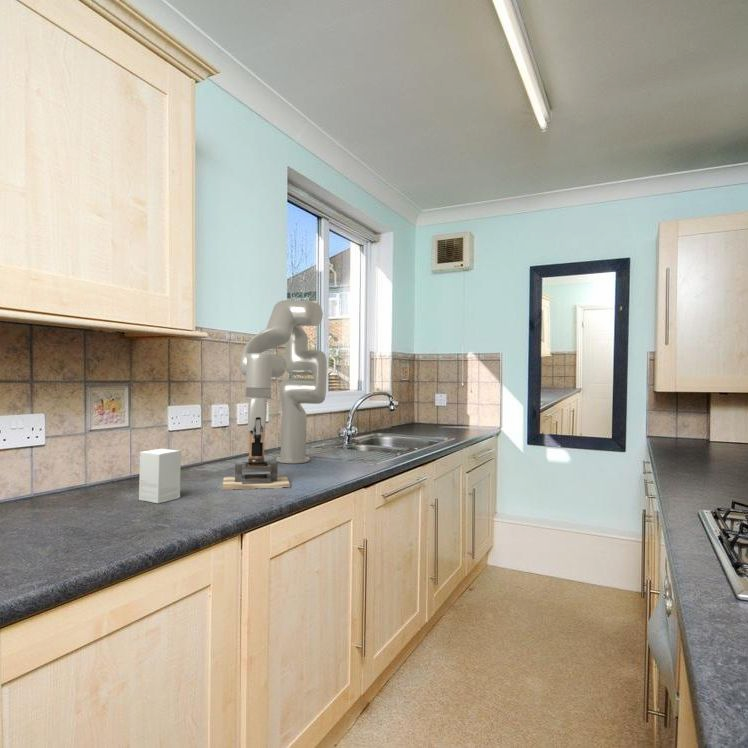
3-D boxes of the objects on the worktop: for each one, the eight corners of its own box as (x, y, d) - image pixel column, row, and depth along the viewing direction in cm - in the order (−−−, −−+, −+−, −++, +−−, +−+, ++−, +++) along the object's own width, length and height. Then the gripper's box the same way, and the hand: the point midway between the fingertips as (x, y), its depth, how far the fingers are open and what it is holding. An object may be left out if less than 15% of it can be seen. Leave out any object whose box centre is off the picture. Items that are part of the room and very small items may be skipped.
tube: (247, 467, 153) (249, 427, 153) (263, 467, 154) (264, 427, 154) (248, 470, 148) (249, 429, 148) (264, 469, 149) (265, 429, 150)
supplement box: (181, 498, 133) (182, 450, 133) (157, 504, 126) (158, 454, 126) (161, 494, 136) (162, 447, 136) (137, 500, 130) (138, 451, 130)
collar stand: (223, 480, 155) (224, 461, 155) (285, 478, 160) (286, 459, 160) (222, 490, 143) (222, 469, 143) (290, 487, 148) (290, 467, 148)
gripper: (245, 392, 158) (243, 450, 158) (245, 394, 142) (244, 459, 142) (269, 393, 160) (267, 450, 160) (272, 395, 144) (271, 459, 144)
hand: (256, 454), depth 151 cm, fingers closed on tube, 4 cm apart
